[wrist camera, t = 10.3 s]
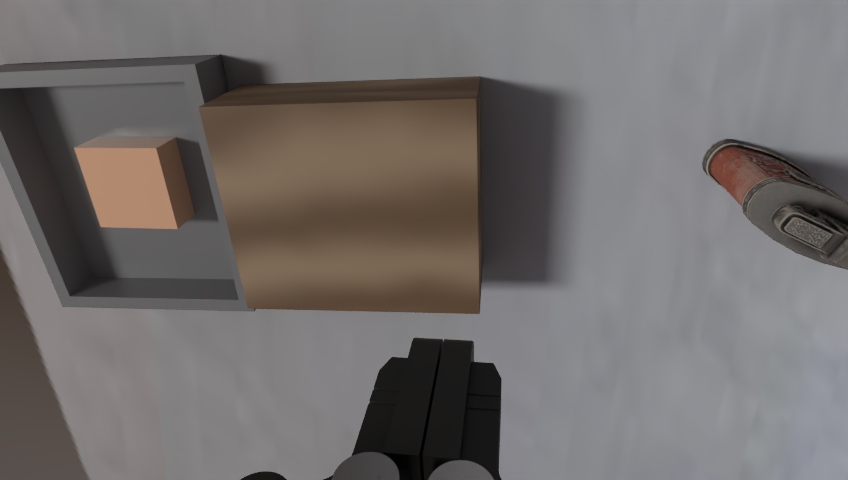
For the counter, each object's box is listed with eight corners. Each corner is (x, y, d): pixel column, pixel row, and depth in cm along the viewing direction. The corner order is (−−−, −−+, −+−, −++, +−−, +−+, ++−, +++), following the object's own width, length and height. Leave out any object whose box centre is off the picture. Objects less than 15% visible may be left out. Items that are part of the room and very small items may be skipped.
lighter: (832, 181, 35) (943, 257, 26) (794, 223, 37) (887, 309, 28) (724, 127, 35) (800, 187, 26) (690, 173, 36) (751, 244, 27)
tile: (156, 148, 37) (175, 137, 39) (73, 147, 37) (97, 136, 40) (177, 229, 39) (194, 214, 42) (100, 227, 40) (121, 212, 42)
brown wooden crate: (241, 85, 37) (198, 107, 32) (480, 76, 35) (476, 98, 30) (278, 265, 43) (247, 308, 38) (482, 267, 41) (479, 313, 36)
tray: (5, 64, 39) (-38, 73, 35) (220, 54, 36) (194, 64, 33) (91, 283, 47) (62, 306, 44) (271, 286, 45) (254, 311, 41)
